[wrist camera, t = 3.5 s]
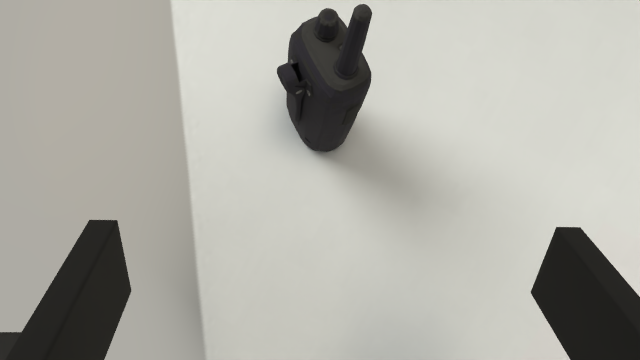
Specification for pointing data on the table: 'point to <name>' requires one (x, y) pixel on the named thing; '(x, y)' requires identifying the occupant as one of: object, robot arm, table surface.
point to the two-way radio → (327, 76)
